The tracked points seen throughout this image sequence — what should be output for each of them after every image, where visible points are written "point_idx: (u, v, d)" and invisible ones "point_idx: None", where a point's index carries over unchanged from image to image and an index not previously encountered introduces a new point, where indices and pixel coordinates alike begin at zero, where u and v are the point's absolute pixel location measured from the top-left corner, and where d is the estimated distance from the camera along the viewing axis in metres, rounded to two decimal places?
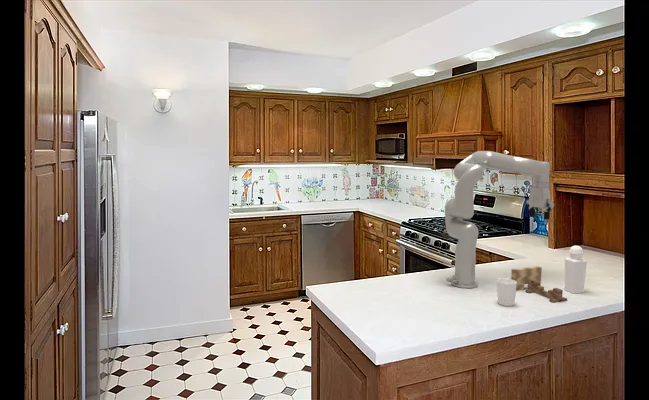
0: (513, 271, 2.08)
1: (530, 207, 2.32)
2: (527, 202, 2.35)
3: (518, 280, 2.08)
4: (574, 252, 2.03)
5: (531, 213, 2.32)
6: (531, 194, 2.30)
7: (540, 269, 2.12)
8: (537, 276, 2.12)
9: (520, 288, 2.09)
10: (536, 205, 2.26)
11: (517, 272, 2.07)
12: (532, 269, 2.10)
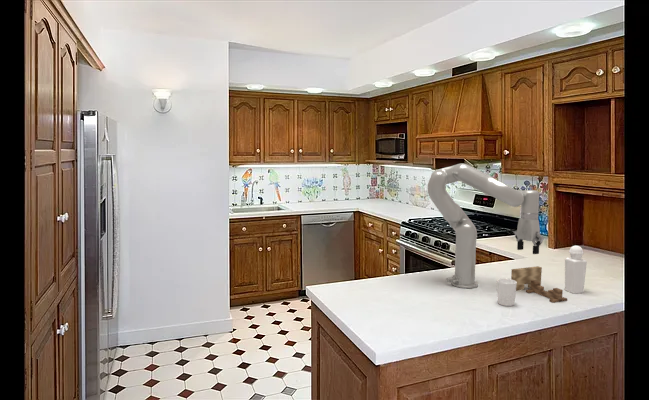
0: (513, 271, 2.08)
1: (518, 239, 2.13)
2: (515, 233, 2.16)
3: (518, 280, 2.08)
4: (574, 252, 2.03)
5: (519, 246, 2.13)
6: (519, 225, 2.10)
7: (540, 269, 2.12)
8: (537, 276, 2.12)
9: (520, 288, 2.09)
10: (524, 238, 2.07)
11: (517, 272, 2.07)
12: (532, 269, 2.10)
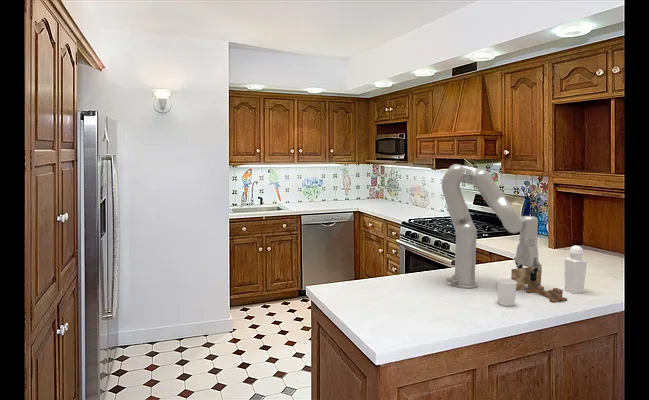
0: (513, 271, 2.08)
1: (518, 265, 2.14)
2: (515, 259, 2.17)
3: (518, 280, 2.08)
4: (574, 252, 2.03)
5: None
6: (518, 251, 2.11)
7: (540, 269, 2.12)
8: (537, 276, 2.11)
9: (520, 288, 2.09)
10: (523, 263, 2.08)
11: (517, 272, 2.07)
12: None
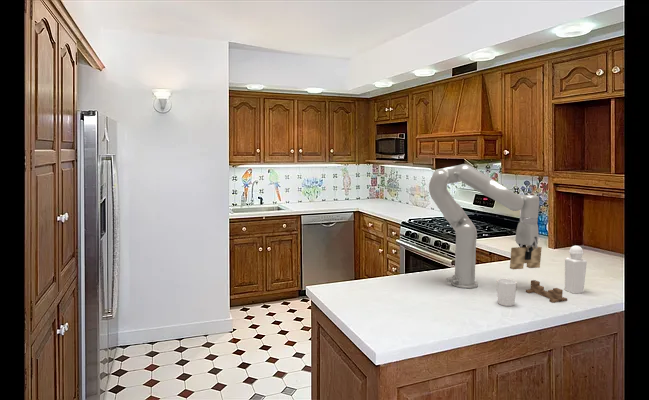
0: (513, 249, 2.07)
1: (521, 246, 2.11)
2: (517, 243, 2.14)
3: (517, 258, 2.07)
4: (574, 252, 2.03)
5: None
6: (518, 230, 2.10)
7: (540, 249, 2.11)
8: (536, 256, 2.11)
9: (519, 267, 2.08)
10: (523, 242, 2.07)
11: (517, 251, 2.06)
12: None
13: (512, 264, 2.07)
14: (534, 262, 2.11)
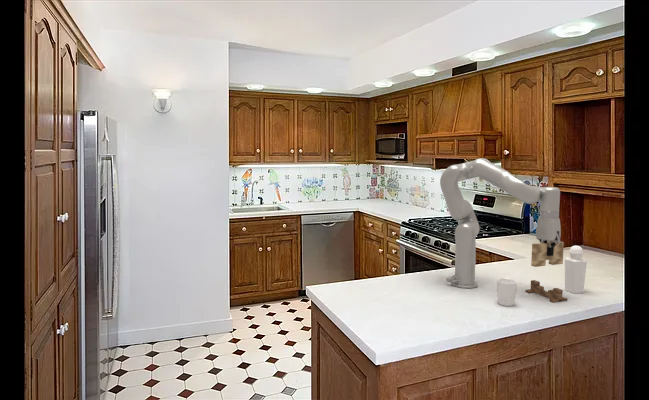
0: (534, 246, 1.95)
1: (542, 242, 1.99)
2: (538, 238, 2.02)
3: (539, 255, 1.95)
4: (574, 252, 2.03)
5: None
6: (538, 224, 1.99)
7: (562, 244, 1.99)
8: (559, 252, 1.99)
9: (541, 264, 1.96)
10: (544, 237, 1.96)
11: (538, 247, 1.95)
12: None
13: (534, 261, 1.95)
14: (557, 258, 1.99)
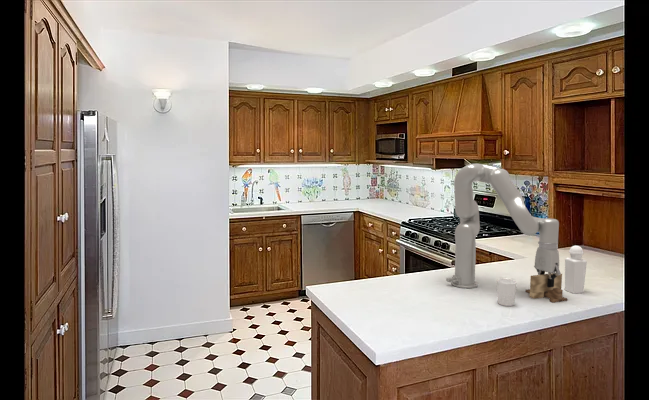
0: (532, 278, 1.96)
1: (539, 272, 2.01)
2: (535, 267, 2.04)
3: (537, 287, 1.97)
4: (574, 252, 2.03)
5: None
6: (537, 255, 2.00)
7: (560, 276, 2.00)
8: (557, 283, 2.00)
9: (540, 296, 1.98)
10: (543, 269, 1.97)
11: (536, 279, 1.96)
12: None
13: (532, 293, 1.97)
14: None
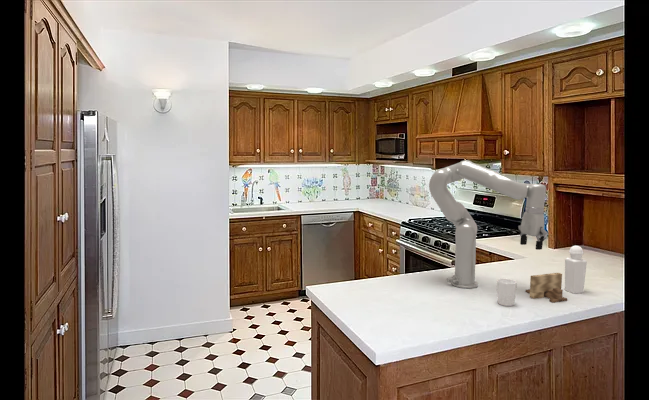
0: (532, 278, 1.96)
1: (522, 234, 2.08)
2: (519, 228, 2.11)
3: (537, 287, 1.97)
4: (574, 252, 2.03)
5: (522, 240, 2.08)
6: (523, 220, 2.05)
7: (560, 276, 2.00)
8: (557, 283, 2.00)
9: (540, 296, 1.98)
10: (528, 232, 2.02)
11: (536, 279, 1.96)
12: (552, 276, 1.99)
13: (532, 293, 1.97)
14: None
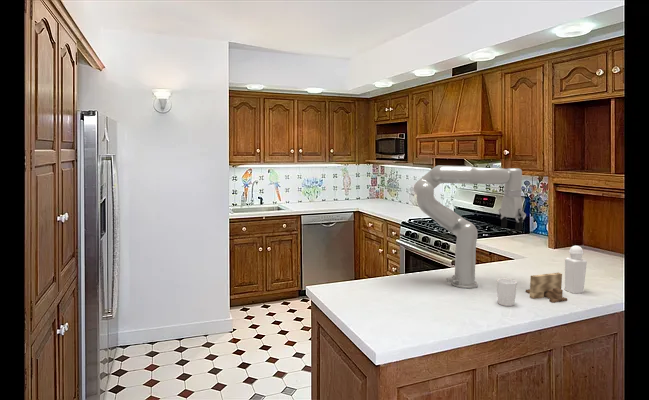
0: (532, 278, 1.96)
1: (502, 217, 2.17)
2: (499, 211, 2.20)
3: (537, 287, 1.97)
4: (574, 252, 2.03)
5: (503, 223, 2.17)
6: (503, 203, 2.14)
7: (560, 276, 2.00)
8: (557, 283, 2.00)
9: (540, 296, 1.98)
10: (508, 215, 2.11)
11: (536, 279, 1.96)
12: (552, 276, 1.99)
13: (532, 293, 1.97)
14: None
